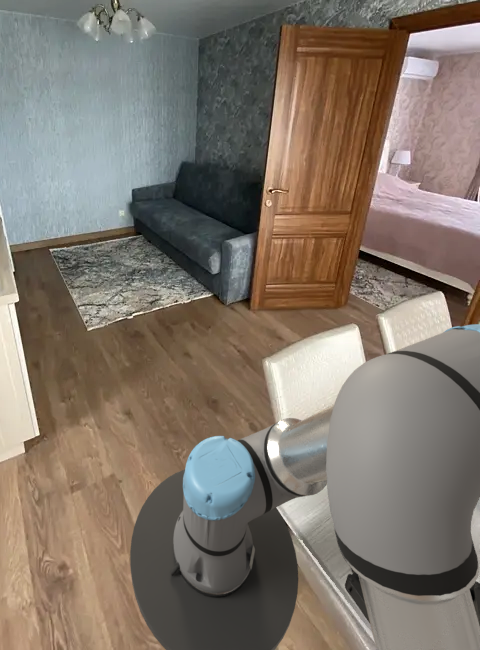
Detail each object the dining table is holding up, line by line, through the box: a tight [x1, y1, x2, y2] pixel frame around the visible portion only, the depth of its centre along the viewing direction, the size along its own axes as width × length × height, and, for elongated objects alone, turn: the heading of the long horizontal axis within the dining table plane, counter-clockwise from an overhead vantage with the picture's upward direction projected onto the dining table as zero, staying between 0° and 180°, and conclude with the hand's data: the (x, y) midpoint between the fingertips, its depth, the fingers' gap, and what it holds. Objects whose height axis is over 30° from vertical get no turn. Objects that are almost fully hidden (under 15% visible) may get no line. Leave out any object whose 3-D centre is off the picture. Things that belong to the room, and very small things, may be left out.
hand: (386, 529), depth 61 cm, fingers open, 13 cm apart
